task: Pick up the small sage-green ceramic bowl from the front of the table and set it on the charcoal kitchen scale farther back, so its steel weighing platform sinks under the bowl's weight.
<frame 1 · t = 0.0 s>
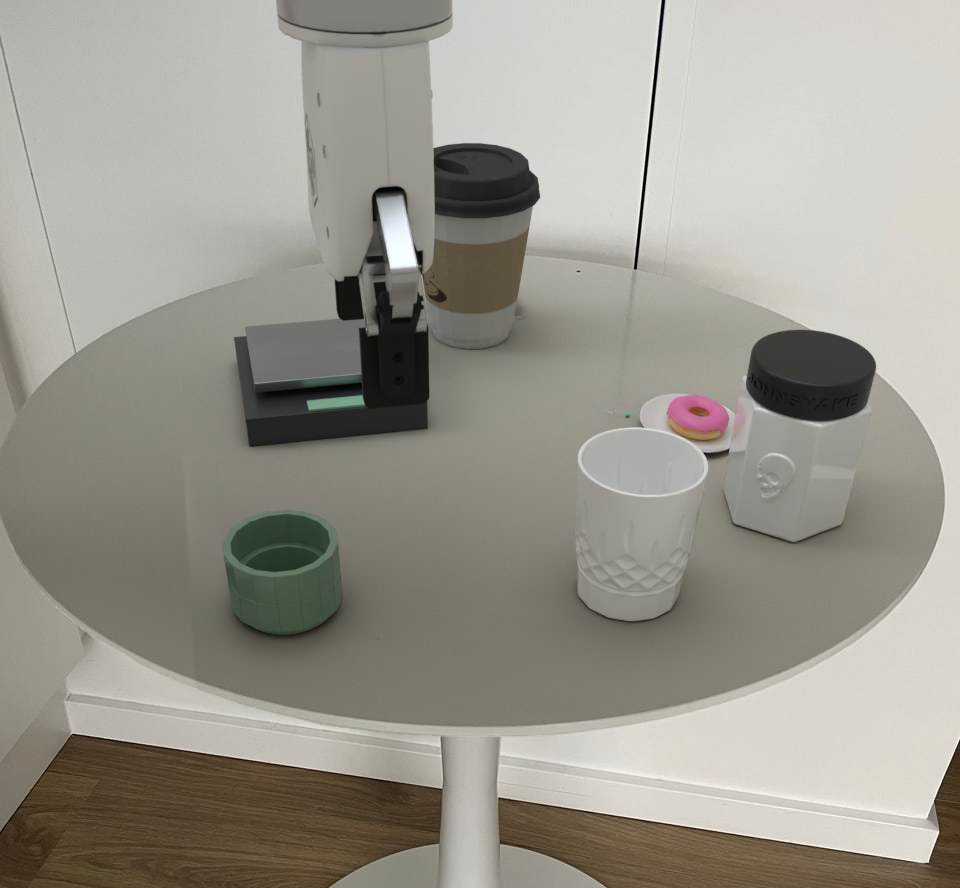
hand: (380, 357, 61), 19 cm above the table, tool pointing down, fingers open, 9 cm apart
scale platform: (324, 351, 95), point 3 cm above the table, slide at 0.0 cm
jar: (780, 510, 85), on the table
donut: (672, 432, 93), on the table
bowl: (287, 604, 76), on the table
scale: (328, 394, 97), on the table
white cup: (626, 592, 78), on the table
coffee cup: (471, 333, 106), on the table
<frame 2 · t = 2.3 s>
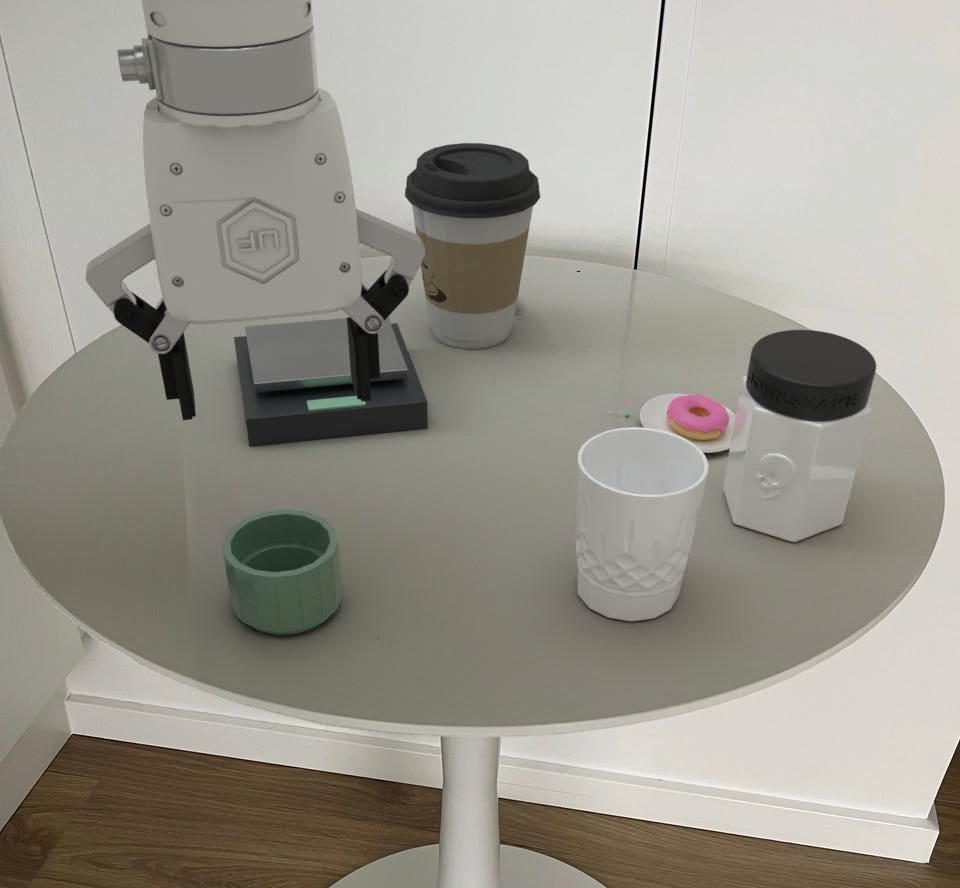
hand: (275, 398, 66), 15 cm above the table, tool pointing down, fingers open, 9 cm apart
nothing on the table moved.
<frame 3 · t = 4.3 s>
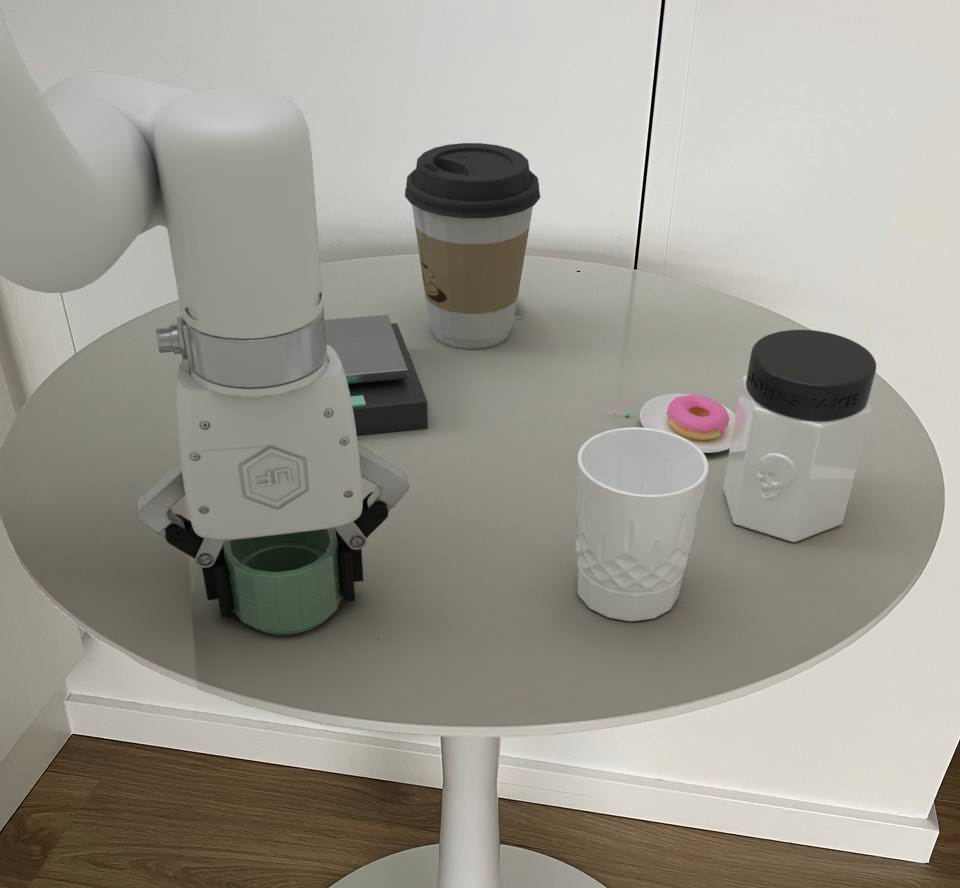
hand: (286, 594, 75), 1 cm above the table, tool pointing down, fingers closed on bowl, 7 cm apart
bowl: (287, 604, 76), on the table, touching gripper
everything else where it was.
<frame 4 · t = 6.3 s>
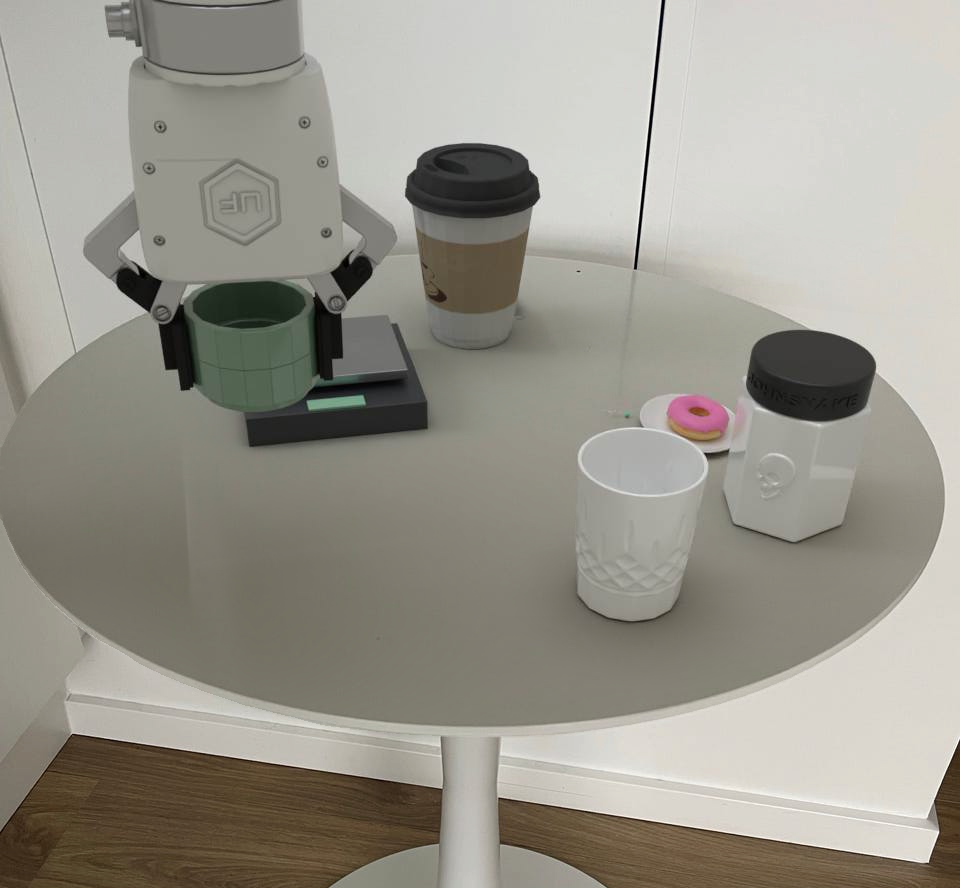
hand: (256, 372, 67), 16 cm above the table, tool pointing down, fingers closed on bowl, 7 cm apart
bowl: (257, 385, 67), point 15 cm above the table, touching gripper
everything else where it was.
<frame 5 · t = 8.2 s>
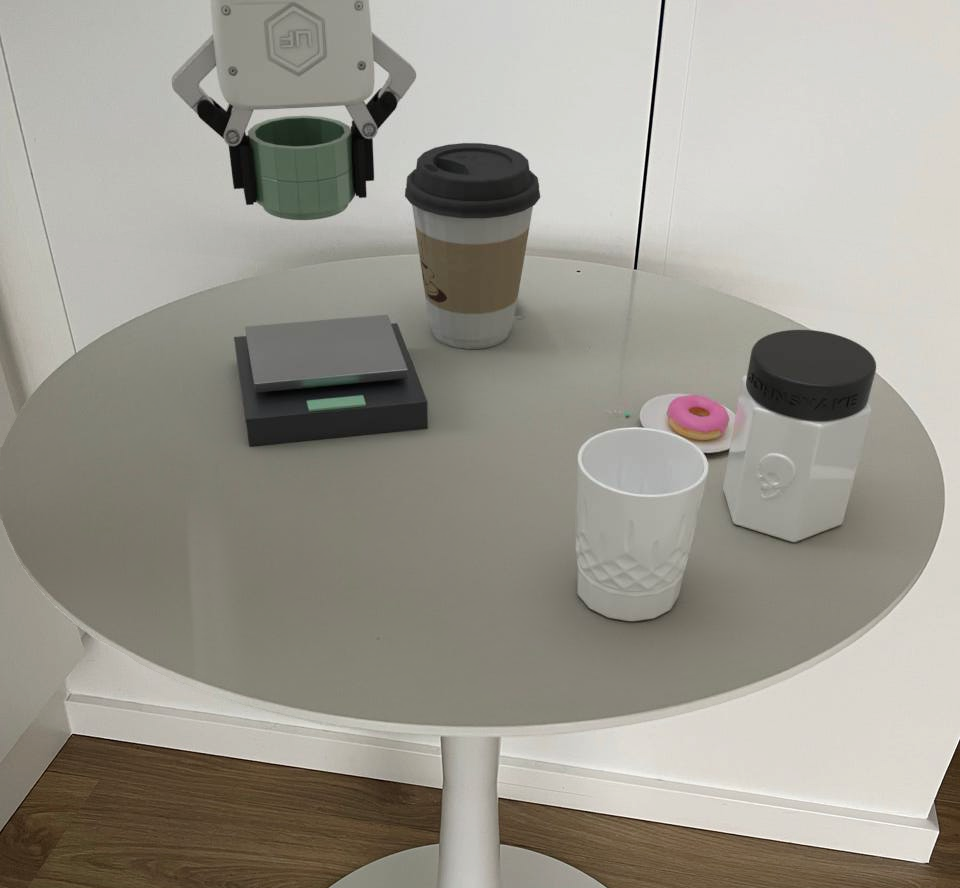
hand: (304, 192, 83), 18 cm above the table, tool pointing down, fingers closed on bowl, 7 cm apart
bowl: (305, 204, 84), point 17 cm above the table, touching gripper
everything else where it was.
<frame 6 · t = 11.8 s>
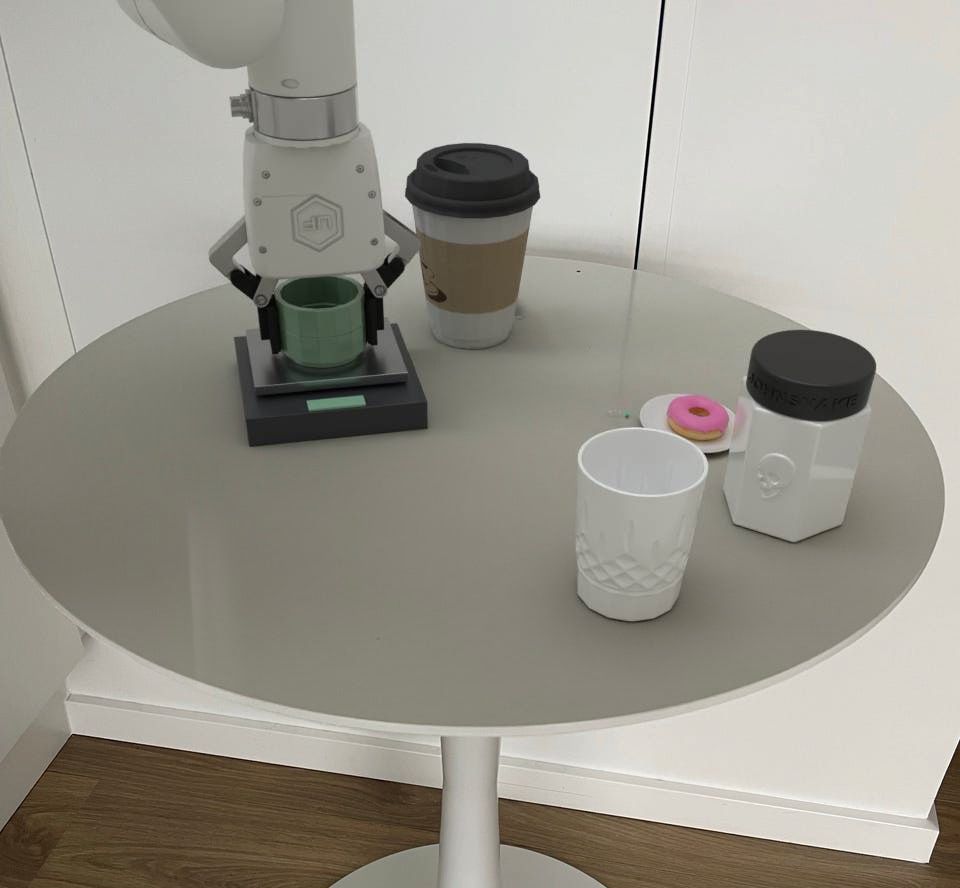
hand: (323, 340, 95), 4 cm above the table, tool pointing down, fingers closed on bowl, 7 cm apart
scale platform: (324, 354, 95), point 3 cm above the table, slide at -0.2 cm, touching bowl
bowl: (323, 350, 95), point 4 cm above the table, touching gripper, scale platform
everything else where it was.
when the fingers open (4 cm above the table, at t = 12.0 s): bowl stays where it is, resting on scale platform.
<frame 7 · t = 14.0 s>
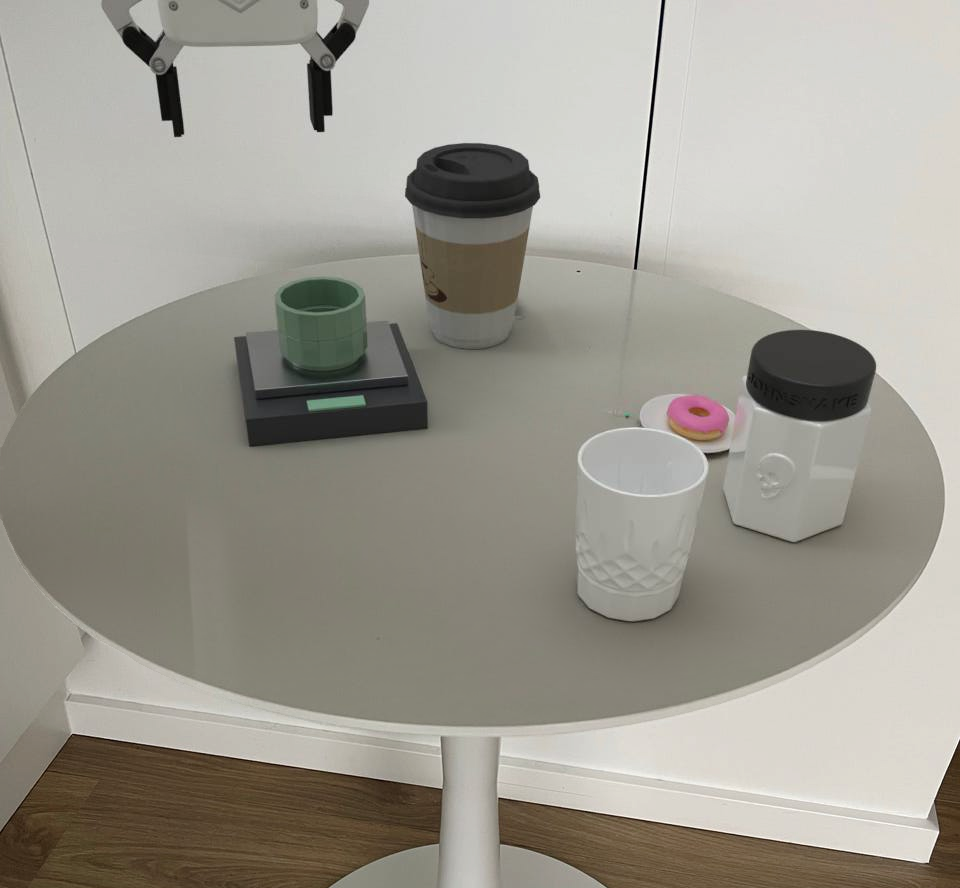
hand: (248, 128, 82), 21 cm above the table, tool pointing down, fingers open, 9 cm apart
bowl: (324, 353, 95), point 3 cm above the table, touching scale platform
everything else where it was.
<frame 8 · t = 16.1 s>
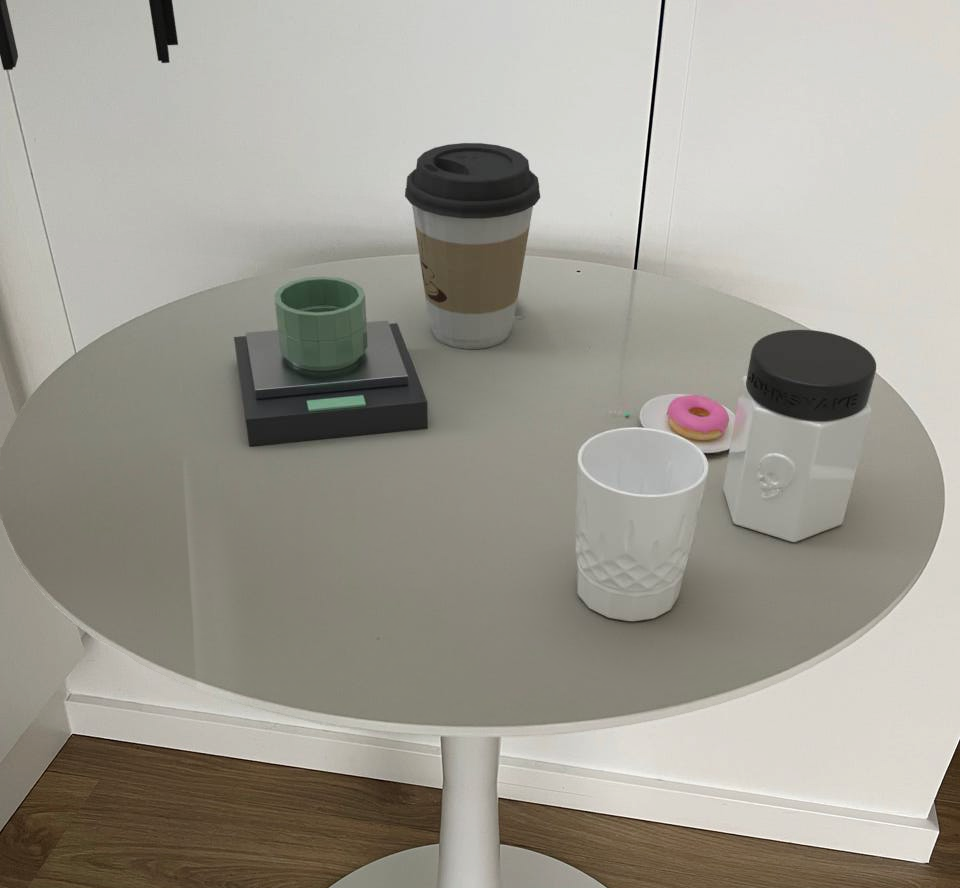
hand: (88, 60, 77), 26 cm above the table, tool pointing down, fingers open, 9 cm apart
nothing on the table moved.
at the end: bowl inside the target area on the scale (0.1 cm from its centre), point 3.3 cm above the scale's base; bowl tilted 0°; scale platform slide at -0.5 cm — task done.
